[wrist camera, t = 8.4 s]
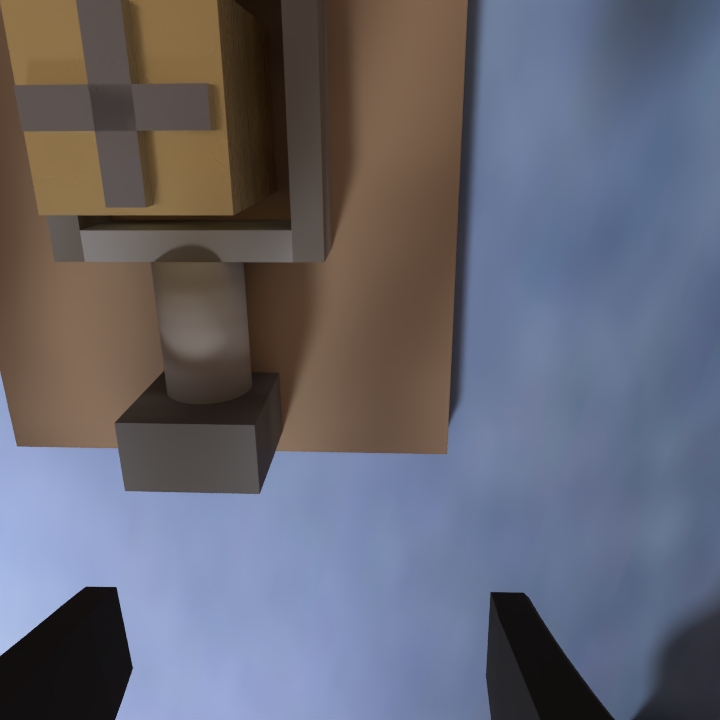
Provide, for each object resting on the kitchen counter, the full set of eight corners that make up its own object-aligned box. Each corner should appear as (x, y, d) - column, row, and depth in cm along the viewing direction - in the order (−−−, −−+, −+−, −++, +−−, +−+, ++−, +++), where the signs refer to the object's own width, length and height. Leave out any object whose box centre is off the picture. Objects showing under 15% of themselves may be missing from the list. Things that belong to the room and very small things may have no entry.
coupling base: (36, 429, 22) (-58, 509, 17) (-124, -339, 15) (-355, -546, 10) (444, 436, 21) (458, 521, 16) (479, -368, 14) (520, -607, 9)
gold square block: (134, 192, 17) (28, 218, 12) (114, 30, 16) (-16, -15, 11) (277, 191, 17) (228, 218, 12) (269, 28, 16) (209, -19, 11)
